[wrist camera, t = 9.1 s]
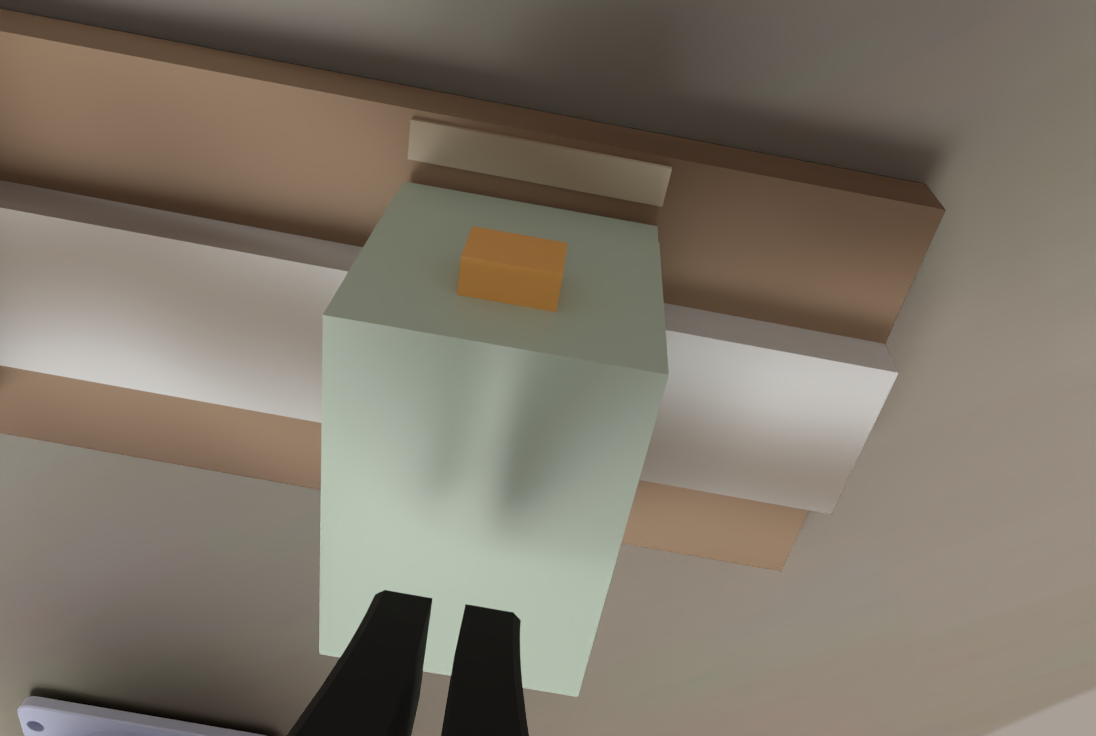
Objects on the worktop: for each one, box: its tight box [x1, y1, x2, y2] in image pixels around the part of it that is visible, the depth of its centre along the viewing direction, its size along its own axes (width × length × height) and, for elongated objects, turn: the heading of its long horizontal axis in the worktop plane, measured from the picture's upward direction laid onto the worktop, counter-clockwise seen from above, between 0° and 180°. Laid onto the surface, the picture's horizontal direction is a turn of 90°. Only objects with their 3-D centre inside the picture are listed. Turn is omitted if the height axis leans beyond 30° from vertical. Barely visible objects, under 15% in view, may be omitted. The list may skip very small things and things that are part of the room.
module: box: [319, 181, 669, 697], centre depth 15 cm, size 7×4×5 cm, turn 171°
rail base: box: [0, 9, 945, 571], centre depth 15 cm, size 9×24×6 cm, turn 81°
